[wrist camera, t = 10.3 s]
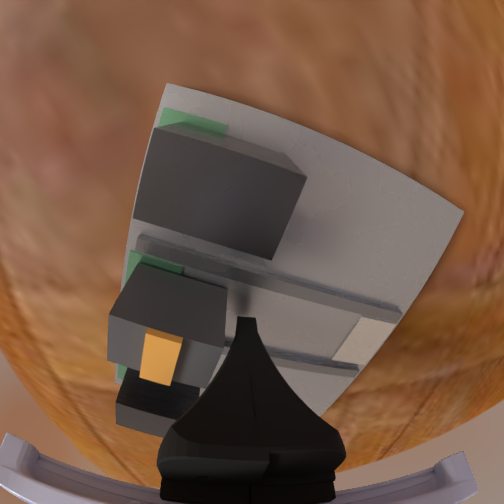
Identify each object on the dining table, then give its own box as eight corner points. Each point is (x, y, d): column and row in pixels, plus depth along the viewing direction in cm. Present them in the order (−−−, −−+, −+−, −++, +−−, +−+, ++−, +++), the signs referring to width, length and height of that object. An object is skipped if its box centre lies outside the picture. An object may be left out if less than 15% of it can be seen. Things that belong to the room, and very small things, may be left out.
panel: (447, 201, 13) (510, 243, 8) (310, 407, 20) (320, 463, 15) (176, 86, 10) (132, 72, 6) (120, 366, 17) (100, 427, 13)
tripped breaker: (227, 289, 13) (223, 354, 9) (212, 330, 14) (205, 394, 10) (138, 262, 12) (105, 319, 8) (131, 306, 13) (105, 365, 10)
